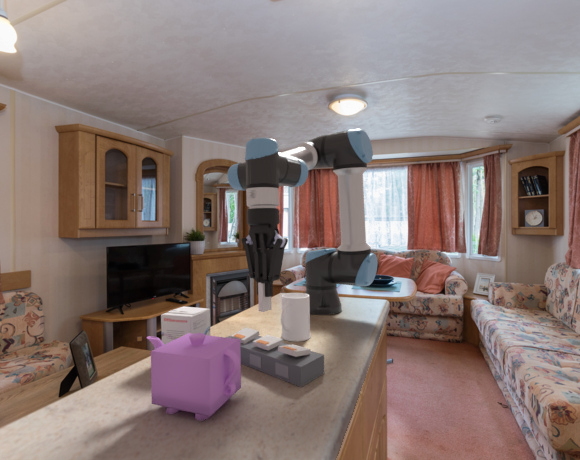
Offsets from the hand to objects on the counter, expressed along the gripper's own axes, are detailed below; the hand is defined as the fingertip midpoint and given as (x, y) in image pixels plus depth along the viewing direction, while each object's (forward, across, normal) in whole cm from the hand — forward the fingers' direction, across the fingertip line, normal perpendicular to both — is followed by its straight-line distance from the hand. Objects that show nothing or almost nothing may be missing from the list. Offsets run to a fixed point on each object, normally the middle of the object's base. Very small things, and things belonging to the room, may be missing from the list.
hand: (265, 310), depth 76 cm
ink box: (+13, -18, -9) cm, 24 cm away
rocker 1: (+8, -8, +1) cm, 11 cm away
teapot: (+13, +1, -20) cm, 24 cm away
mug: (+13, -7, +18) cm, 23 cm away
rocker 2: (+8, 0, +1) cm, 8 cm away
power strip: (+13, -3, +1) cm, 13 cm away
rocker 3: (+8, +8, +1) cm, 11 cm away
